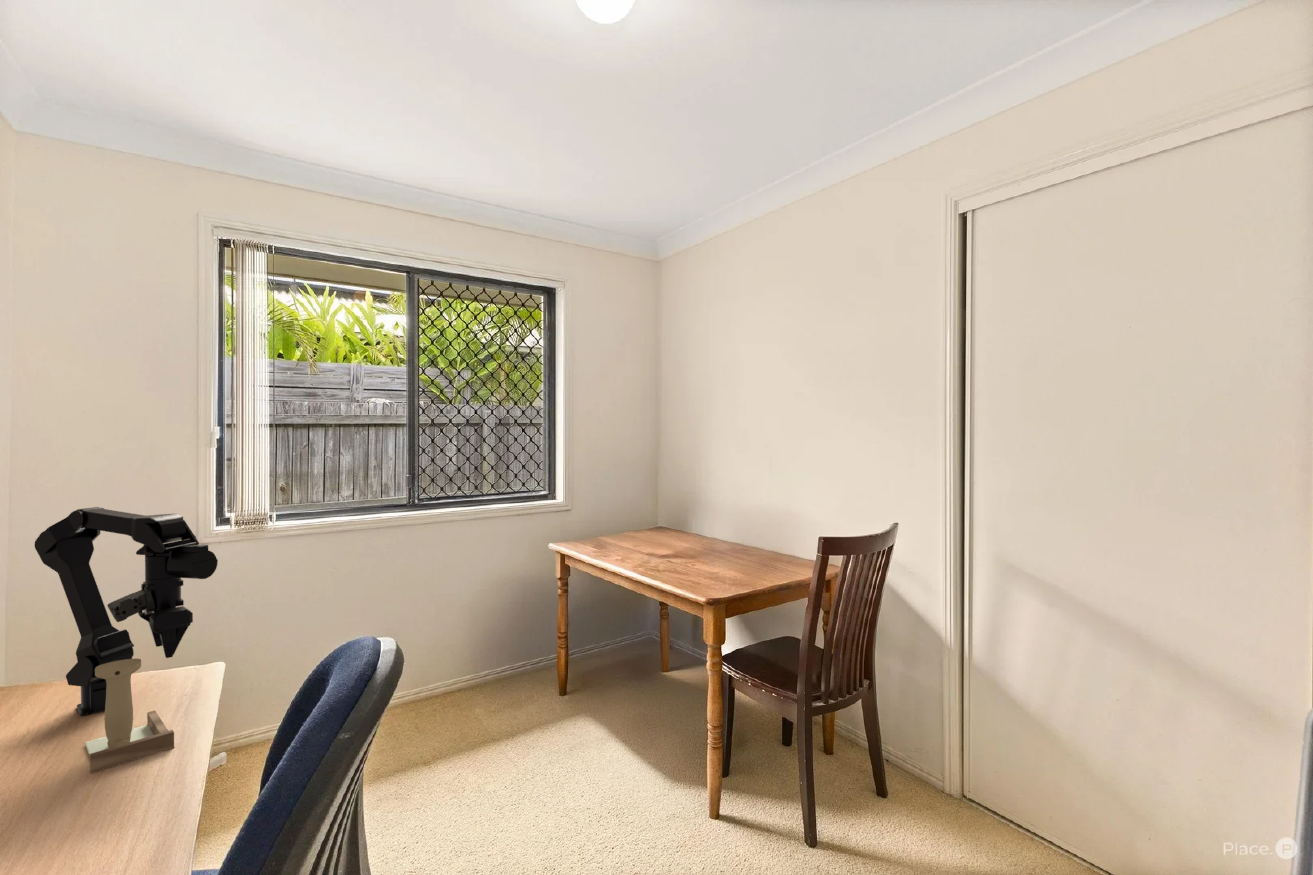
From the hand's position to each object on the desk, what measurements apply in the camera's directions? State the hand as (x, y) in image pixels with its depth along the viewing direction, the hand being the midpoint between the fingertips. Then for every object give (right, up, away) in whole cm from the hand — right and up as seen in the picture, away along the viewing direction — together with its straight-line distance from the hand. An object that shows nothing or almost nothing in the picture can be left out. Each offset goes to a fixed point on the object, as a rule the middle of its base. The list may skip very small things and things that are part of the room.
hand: (164, 651), depth 126 cm
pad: (+2, -13, -13) cm, 19 cm away
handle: (+2, -13, -13) cm, 18 cm away
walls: (+2, -13, -13) cm, 19 cm away
